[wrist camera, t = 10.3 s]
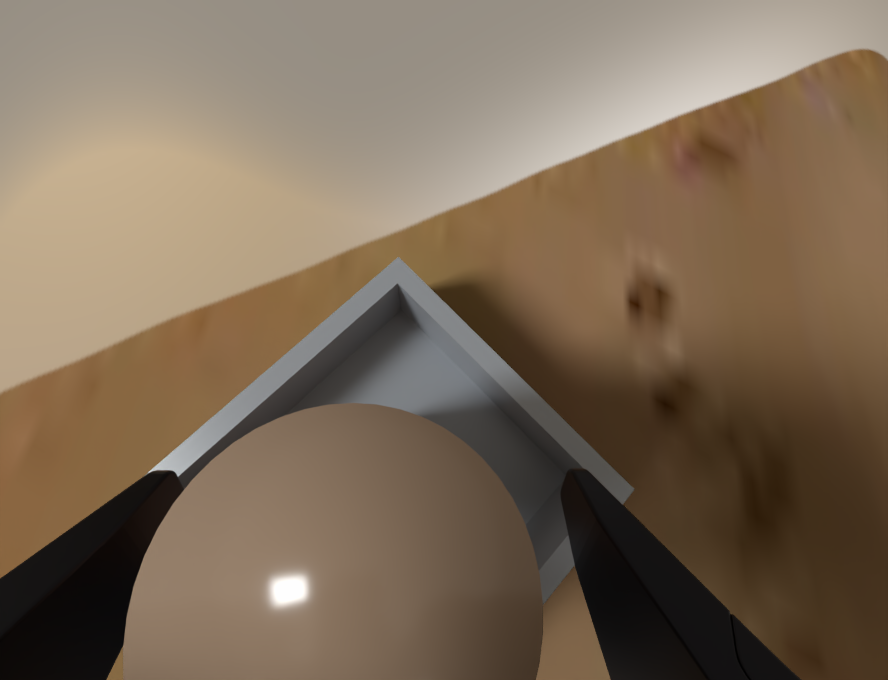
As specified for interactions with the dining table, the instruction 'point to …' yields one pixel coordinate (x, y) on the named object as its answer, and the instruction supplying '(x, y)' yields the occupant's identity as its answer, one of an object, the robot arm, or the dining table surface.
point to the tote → (421, 401)
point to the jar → (339, 560)
